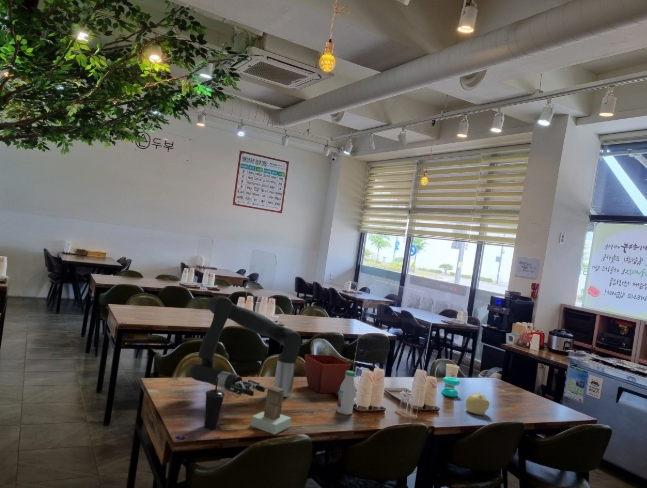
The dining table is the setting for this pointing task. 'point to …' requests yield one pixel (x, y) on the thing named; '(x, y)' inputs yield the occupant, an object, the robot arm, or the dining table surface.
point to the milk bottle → (346, 394)
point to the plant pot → (325, 372)
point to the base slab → (270, 423)
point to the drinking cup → (213, 407)
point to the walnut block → (273, 403)
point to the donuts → (451, 382)
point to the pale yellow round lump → (477, 404)
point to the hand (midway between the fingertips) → (258, 391)
